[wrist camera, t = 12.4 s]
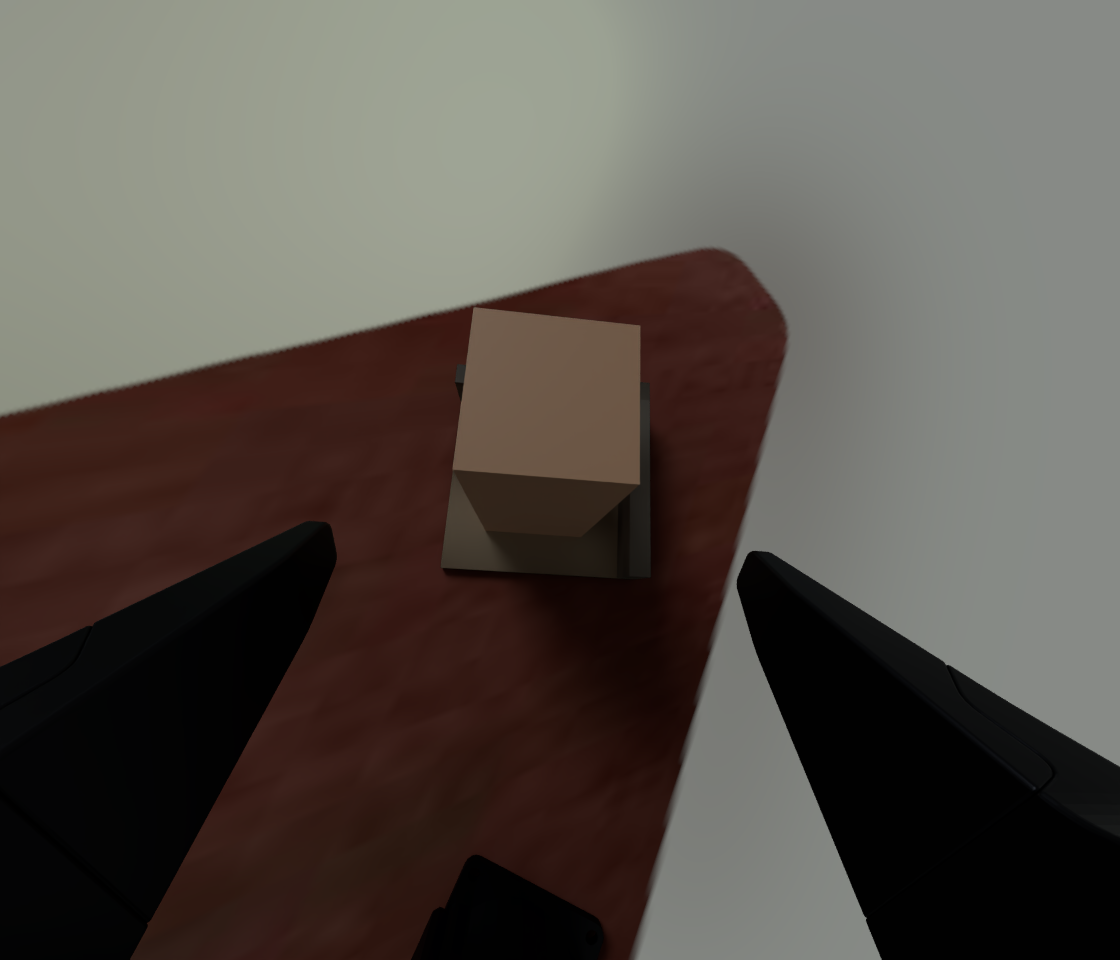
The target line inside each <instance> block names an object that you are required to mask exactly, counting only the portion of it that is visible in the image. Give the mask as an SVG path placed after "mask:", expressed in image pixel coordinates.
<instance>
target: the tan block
mask: <svg viewBox="0 0 1120 960" xmlns="http://www.w3.org/2000/svg"><path fill="white" fill-rule="evenodd" d="M453 471H454V473H455V475H456V477H457V479H458V481H459V483H460V484H461V486H462V488H463V490H464V492H465V494H466V496H467V497H468V499H469V501H470V503H471V505H472V507H473V509H474V511H475V512H476V514H477V516H478V518H479V520H480V522H481V524H482V525H483V527H484V529H485V531H497V532H512V533H526V534H541V535H555V536H570V537H582V536H583V535H584V534H585V533H586V532H587V531H588V530H589V529H591V528H592V527H593V526H594V525H595V524H596V523H597V522H598V521H599V520H601V519H602V518H603V517H604V516H605V515H606V514H607V513H608V512H610V511H611V510H612V509H613V508H614V507H615V506H616V505H617V504H619V503H620V502H621V501H622V500H623V499H624V498H625V497H626V496H627V495H629V494H630V493H631V492H632V491H633V490H634V489H635V488H636V487H638V486H639V485H640V326H638V325H629V324H620V323H611V322H602V321H592V320H583V319H574V318H565V317H556V316H547V315H538V314H529V313H520V312H511V311H502V310H493V309H484V308H475V307H474V310H473V318H472V325H471V333H470V341H469V348H468V356H467V364H466V371H465V379H464V386H463V394H462V402H461V409H460V417H459V425H458V432H457V440H456V447H455V455H454V463H453Z"/></svg>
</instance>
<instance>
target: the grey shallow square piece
mask: <svg viewBox="0 0 1120 960" xmlns="http://www.w3.org/2000/svg"><path fill="white" fill-rule="evenodd" d="M465 371H466V365H459V364H457V371H456V379H455V383H456V387H457V390H458V393H459V397H460V400H461V402H462V394H463V386H464V379H465ZM441 568H449V569H466V570H483V571H500V572H517V573H534V574H551V575H568V576H585V577H602V578H619V579H641V578H650V577H651V546H650V389H649V383H643V382H640V485H639V486H638V487H636V488H635V489H634V490H633V491H632V492H631V493H630V494H629V495H627V496H626V497H625V498H624V499H623V500H622V501H621V502H620V503H619V504H617V505H616V506H615V507H614V508H613V509H612V510H611V511H610V512H608V513H607V514H606V515H605V516H604V517H603V518H602V519H601V520H599V521H598V522H597V523H596V524H595V525H594V526H593V527H592V528H591V529H589V530H588V531H587V532H586V533H585V534H584V535H583V536H582V537H570V536H555V535H541V534H526V533H512V532H497V531H485V529H484V527H483V525H482V524H481V522H480V520H479V518H478V516H477V514H476V512H475V511H474V509H473V507H472V505H471V503H470V501H469V499H468V497H467V496H466V494H465V492H464V490H463V488H462V486H461V484H460V483H459V481H458V479H457V477H456V475H455V473H454V471H453V475H452V483H451V491H450V498H449V506H448V514H447V522H446V529H445V537H444V545H443V553H442V561H441Z"/></svg>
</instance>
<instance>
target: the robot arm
mask: <svg viewBox="0 0 1120 960" xmlns="http://www.w3.org/2000/svg"><path fill="white" fill-rule="evenodd" d="M336 560H337V553H336V547H335V543H334V538H333V533H332V528H331V526H330V524H328V523H327V522H316V521H307V522H304V523H302V524H300V525H298V526H296V527H293V528H291V529H289V530H287V531H285V532H283V533H281V534H279V535H277V536H275V537H273V538H271V539H268V540H266V541H264V542H262V543H260V544H258V545H256V546H254V547H252V548H250V549H248V550H245V551H243V552H241V553H239V554H237V555H235V556H233V557H231V558H229V559H227V560H225V561H222V562H220V563H218V564H216V565H214V566H212V567H210V568H208V569H206V570H204V571H202V572H199V573H197V574H195V575H193V576H191V577H189V578H187V579H185V580H183V581H181V582H179V583H176V584H174V585H172V586H170V587H168V588H166V589H164V590H162V591H160V592H158V593H156V594H153V595H151V596H149V597H147V598H145V599H143V600H141V601H139V602H137V603H135V604H133V605H130V606H128V607H126V608H124V609H122V610H120V611H118V612H116V613H114V614H112V615H110V616H107V617H105V618H103V619H101V620H99V621H97V622H95V623H94V625H93V627H92V626H86V627H84V628H82V629H80V630H78V631H76V632H74V633H72V634H70V635H68V636H66V637H64V638H61V639H59V640H57V641H55V642H53V643H51V644H49V645H47V646H44V647H42V648H40V649H38V650H36V651H34V652H32V653H29V654H27V655H25V656H23V657H21V658H19V659H16V660H14V661H12V662H10V663H8V664H6V665H3V666H1V667H0V960H130V958H131V956H132V955H133V953H134V951H135V949H136V947H137V945H138V944H139V942H140V940H141V938H142V936H143V934H144V933H145V931H146V929H147V927H148V924H147V923H148V922H149V921H150V920H151V919H152V917H153V915H154V913H155V911H156V910H157V908H158V906H159V904H160V902H161V900H162V899H163V897H164V895H165V893H166V891H167V889H168V888H169V886H170V884H171V882H172V880H173V878H174V877H175V875H176V873H177V871H178V869H179V867H180V866H181V864H182V862H183V860H184V858H185V856H186V855H187V853H188V851H189V849H190V847H191V845H192V844H193V842H194V840H195V838H196V836H197V834H198V833H199V831H200V829H201V827H202V825H203V823H204V822H205V820H206V818H207V816H208V814H209V812H210V811H211V809H212V807H213V805H214V803H215V801H216V800H217V798H218V796H219V794H220V792H221V790H222V789H223V787H224V785H225V783H226V781H227V779H228V778H229V776H230V774H231V772H232V770H233V768H234V767H235V765H236V763H237V761H238V759H239V757H240V756H241V754H242V752H243V750H244V748H245V746H246V745H247V743H248V741H249V739H250V737H251V735H252V734H253V732H254V730H255V728H256V726H257V724H258V723H259V721H260V719H261V717H262V715H263V713H264V712H265V710H266V708H267V706H268V704H269V702H270V701H271V699H272V697H273V695H274V693H275V691H276V690H277V688H278V686H279V684H280V682H281V680H282V679H283V677H284V675H285V673H286V671H287V669H288V668H289V666H290V664H291V662H292V660H293V658H294V657H295V655H296V653H297V651H298V649H299V647H300V645H301V644H302V642H303V640H304V638H305V636H306V634H307V632H308V630H309V628H310V625H311V623H312V621H313V619H314V616H315V614H316V611H317V609H318V606H319V604H320V601H321V599H322V597H323V594H324V592H325V589H326V587H327V584H328V582H329V579H330V577H331V574H332V572H333V570H334V567H335V564H336ZM737 590H738V593H739V596H740V600H741V604H742V607H743V610H744V614H745V617H746V621H747V624H748V627H749V631H750V634H751V637H752V641H753V644H754V647H755V650H756V653H757V656H758V658H759V661H760V663H761V666H762V668H763V671H764V673H765V676H766V678H767V680H768V683H769V685H770V688H771V690H772V693H773V695H774V697H775V700H776V702H777V705H778V707H779V710H780V712H781V715H782V717H783V719H784V722H785V724H786V727H787V729H788V731H789V734H790V737H791V739H792V741H793V744H794V746H795V749H796V751H797V754H798V756H799V758H800V761H801V763H802V766H803V768H804V771H805V773H806V775H807V778H808V780H809V783H810V785H811V788H812V790H813V793H814V795H815V797H816V800H817V802H818V804H819V807H820V810H821V812H822V814H823V817H824V819H825V822H826V824H827V826H828V829H829V831H830V834H831V836H832V839H833V841H834V844H835V846H836V849H837V851H838V853H839V856H840V858H841V861H842V863H843V866H844V868H845V870H846V873H847V875H848V878H849V880H850V883H851V885H852V888H853V890H854V892H855V895H856V897H857V900H858V902H859V905H860V907H861V909H862V912H863V914H864V916H865V917H866V918H867V919H866V922H867V925H868V927H869V930H870V932H871V934H872V937H873V939H874V942H875V944H876V947H877V949H878V952H879V954H880V957H881V958H882V960H1120V767H1119V766H1118V765H1116V764H1114V763H1112V762H1111V761H1109V760H1107V759H1105V758H1104V757H1102V756H1100V755H1098V754H1097V753H1095V752H1093V751H1092V750H1090V749H1088V748H1086V747H1085V746H1083V745H1081V744H1079V743H1077V742H1076V741H1074V740H1072V739H1071V738H1069V737H1067V736H1066V735H1064V734H1062V733H1060V732H1059V731H1057V730H1055V729H1053V728H1052V727H1050V726H1048V725H1047V724H1045V723H1043V722H1041V721H1040V720H1038V719H1036V718H1035V717H1033V716H1031V715H1030V714H1028V713H1026V712H1024V711H1023V710H1021V709H1019V708H1018V707H1016V706H1014V705H1012V704H1011V703H1009V702H1008V701H1006V700H1004V699H1003V698H1001V697H1000V696H997V695H996V694H995V693H993V692H991V691H990V690H988V689H987V688H985V687H983V686H982V685H980V684H978V683H976V682H975V681H974V680H972V679H970V678H969V677H967V676H966V675H964V674H962V673H961V672H959V671H958V670H956V669H954V668H953V667H951V666H949V665H946V664H945V663H944V662H943V661H941V660H940V659H939V658H937V657H935V656H934V655H932V654H930V653H929V652H927V651H926V650H924V649H923V648H921V647H920V646H918V645H916V644H915V643H913V642H912V641H910V640H908V639H907V638H905V637H903V636H902V635H900V634H899V633H897V632H896V631H894V630H893V629H891V628H889V627H888V626H886V625H884V624H883V623H881V622H880V621H878V620H877V619H875V618H874V617H872V616H870V615H869V614H867V613H866V612H864V611H862V610H861V609H859V608H858V607H856V606H855V605H853V604H851V603H850V602H848V601H847V600H845V599H843V598H842V597H840V596H839V595H837V594H835V593H834V592H832V591H831V590H829V589H827V588H826V587H824V586H823V585H821V584H820V583H818V582H816V581H815V580H813V579H812V578H810V577H809V576H807V575H805V574H803V573H802V572H801V571H799V570H797V569H796V568H794V567H793V566H791V565H789V564H788V563H786V562H785V561H783V560H782V559H780V558H778V557H777V556H775V555H774V554H772V553H769V552H762V551H752V552H750V553H749V554H748V555H747V557H746V559H745V562H744V564H743V566H742V569H741V571H740V573H739V576H738V578H737ZM472 868H478V869H479V870H480V873H479V874H478V875H477V876H472V875H471V874H470V872H469V871H470V870H471V869H472ZM590 930H594V931H595V932H596V933H595V935H594V936H593V937H591V938H590V937H587V936H586V934H587V932H588V931H590ZM603 938H604V937H603V931H602V927H601V924H600V922H599V920H598V919H597V918H596V917H595V916H593V915H591V914H589V913H587V912H586V911H584V910H582V909H580V908H578V907H576V906H574V905H572V904H571V903H569V902H567V901H565V900H563V899H561V898H559V897H557V896H555V895H554V894H552V893H550V892H548V891H546V890H544V889H542V888H540V887H539V886H537V885H535V884H533V883H531V882H529V881H527V880H525V879H523V878H522V877H520V876H518V875H516V874H514V873H512V872H510V871H508V870H507V869H505V868H503V867H501V866H499V865H497V864H495V863H493V862H491V861H490V860H488V859H486V858H484V857H482V856H479V855H473V856H471V857H470V858H468V859H467V861H466V862H465V864H464V866H463V869H462V871H461V873H460V875H459V877H458V880H457V882H456V884H455V886H454V889H453V891H452V893H451V895H450V898H449V900H448V902H447V904H446V907H445V909H444V908H442V907H439V908H437V909H436V910H434V911H433V912H432V914H431V917H430V919H429V921H428V923H427V926H426V928H425V930H424V932H423V934H422V937H421V939H420V941H419V943H418V945H417V948H416V950H415V952H414V954H413V956H412V959H411V960H597V958H598V955H599V952H600V949H601V946H602V943H603Z"/></svg>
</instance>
